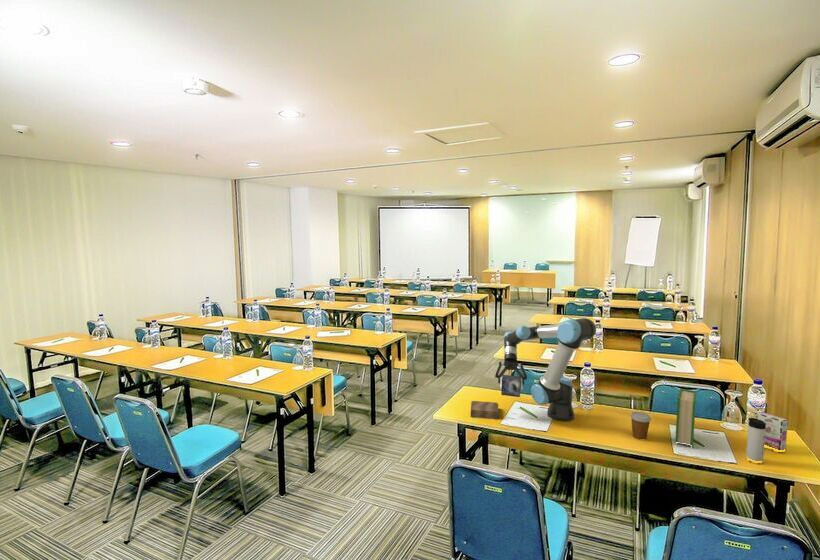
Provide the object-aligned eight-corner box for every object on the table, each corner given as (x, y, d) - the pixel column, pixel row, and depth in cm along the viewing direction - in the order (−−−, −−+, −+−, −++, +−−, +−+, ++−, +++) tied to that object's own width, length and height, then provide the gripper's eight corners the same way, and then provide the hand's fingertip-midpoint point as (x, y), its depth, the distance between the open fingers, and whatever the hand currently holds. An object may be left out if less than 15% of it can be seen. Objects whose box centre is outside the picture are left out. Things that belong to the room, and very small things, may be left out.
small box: (500, 395, 246) (501, 377, 245) (501, 391, 252) (502, 374, 251) (519, 397, 243) (520, 379, 242) (520, 393, 249) (521, 376, 248)
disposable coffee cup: (651, 442, 217) (652, 419, 216) (630, 439, 220) (631, 417, 219) (648, 434, 226) (649, 412, 225) (628, 432, 229) (629, 410, 228)
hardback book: (692, 448, 211) (695, 401, 209) (675, 444, 215) (677, 398, 213) (693, 435, 226) (696, 391, 224) (677, 432, 230) (679, 388, 228)
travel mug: (742, 456, 203) (745, 416, 201) (759, 458, 201) (762, 417, 200) (748, 463, 197) (751, 421, 195) (765, 465, 195) (769, 423, 194)
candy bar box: (786, 452, 208) (788, 419, 207) (779, 454, 206) (782, 421, 205) (760, 442, 218) (762, 411, 217) (754, 443, 217) (756, 412, 215)
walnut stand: (497, 408, 261) (497, 402, 260) (498, 419, 245) (498, 412, 245) (471, 406, 263) (471, 400, 263) (470, 417, 248) (470, 410, 247)
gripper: (529, 359, 259) (531, 393, 245) (490, 357, 263) (490, 390, 249) (531, 353, 253) (533, 387, 239) (491, 351, 257) (490, 384, 243)
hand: (511, 389), depth 244 cm, fingers closed on small box, 11 cm apart
